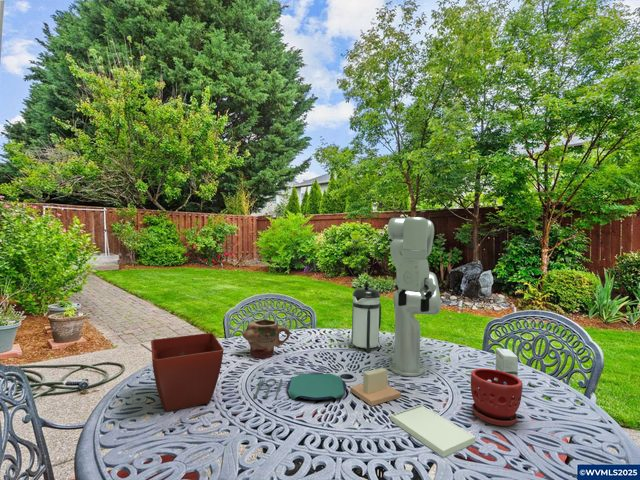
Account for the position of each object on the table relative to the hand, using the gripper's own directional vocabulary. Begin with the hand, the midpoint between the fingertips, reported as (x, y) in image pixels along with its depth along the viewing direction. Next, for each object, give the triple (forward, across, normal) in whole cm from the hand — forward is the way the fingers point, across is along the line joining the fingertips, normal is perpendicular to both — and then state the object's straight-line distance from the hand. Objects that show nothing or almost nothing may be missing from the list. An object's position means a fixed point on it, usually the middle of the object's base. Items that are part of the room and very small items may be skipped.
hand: (413, 308), depth 109 cm
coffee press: (+28, -45, +17) cm, 56 cm away
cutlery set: (+29, -21, -29) cm, 46 cm away
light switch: (+28, -6, -10) cm, 31 cm away
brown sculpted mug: (+28, -56, -28) cm, 69 cm away
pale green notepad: (+28, +17, -10) cm, 34 cm away
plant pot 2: (+28, +21, +12) cm, 37 cm away
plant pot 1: (+29, -31, -64) cm, 77 cm away
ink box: (+29, +10, +36) cm, 47 cm away
